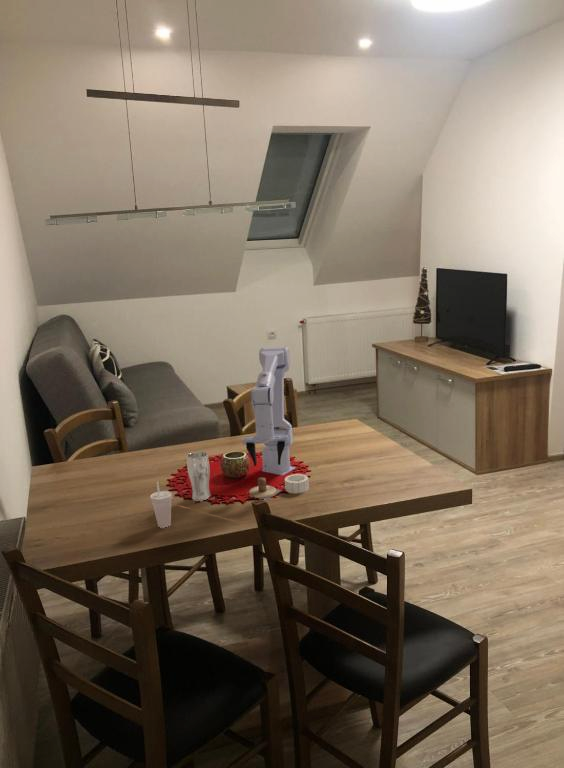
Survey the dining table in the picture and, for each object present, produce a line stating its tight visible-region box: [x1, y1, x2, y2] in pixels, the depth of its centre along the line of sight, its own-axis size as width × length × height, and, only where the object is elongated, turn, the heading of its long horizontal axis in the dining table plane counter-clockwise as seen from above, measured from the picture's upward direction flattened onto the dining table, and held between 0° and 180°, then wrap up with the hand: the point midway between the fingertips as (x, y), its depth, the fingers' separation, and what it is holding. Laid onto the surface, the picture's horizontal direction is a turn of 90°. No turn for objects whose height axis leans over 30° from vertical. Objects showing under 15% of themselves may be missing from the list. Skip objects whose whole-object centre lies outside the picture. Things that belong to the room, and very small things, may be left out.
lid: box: [248, 477, 276, 499], centre depth 206 cm, size 9×9×5 cm
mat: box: [259, 488, 283, 502], centre depth 207 cm, size 9×9×1 cm
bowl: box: [284, 473, 310, 495], centre depth 208 cm, size 8×8×4 cm
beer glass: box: [186, 451, 212, 502], centre depth 205 cm, size 7×7×15 cm
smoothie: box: [149, 480, 173, 529], centre depth 187 cm, size 6×6×14 cm
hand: (267, 464), depth 205 cm, fingers open, 7 cm apart
